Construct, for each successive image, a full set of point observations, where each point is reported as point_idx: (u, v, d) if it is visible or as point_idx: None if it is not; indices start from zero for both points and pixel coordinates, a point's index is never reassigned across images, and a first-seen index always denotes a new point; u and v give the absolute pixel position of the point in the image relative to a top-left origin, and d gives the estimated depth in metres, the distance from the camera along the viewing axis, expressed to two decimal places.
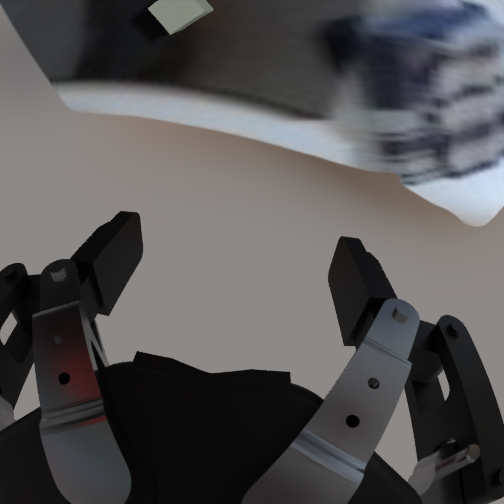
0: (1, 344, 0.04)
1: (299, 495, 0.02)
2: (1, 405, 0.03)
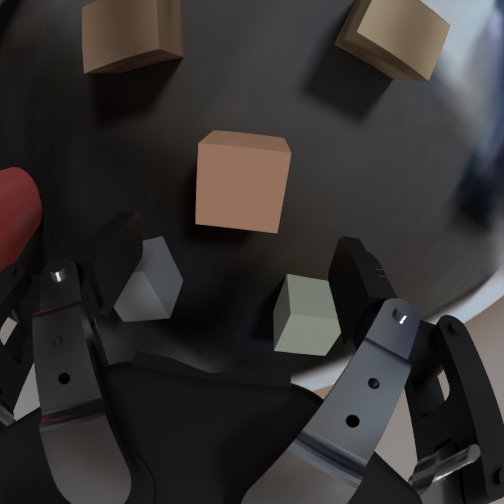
0: (1, 344, 0.04)
1: (299, 495, 0.02)
2: (1, 405, 0.03)
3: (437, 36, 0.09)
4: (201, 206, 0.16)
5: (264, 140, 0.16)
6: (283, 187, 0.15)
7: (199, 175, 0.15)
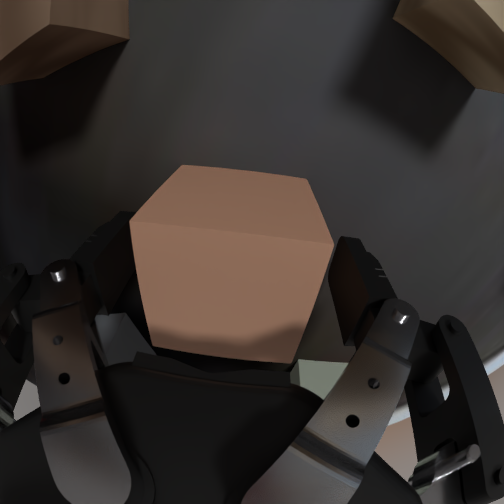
0: (1, 344, 0.04)
1: (299, 495, 0.02)
2: (1, 405, 0.03)
3: None
4: (156, 325, 0.08)
5: (272, 192, 0.09)
6: (310, 305, 0.07)
7: (142, 280, 0.07)
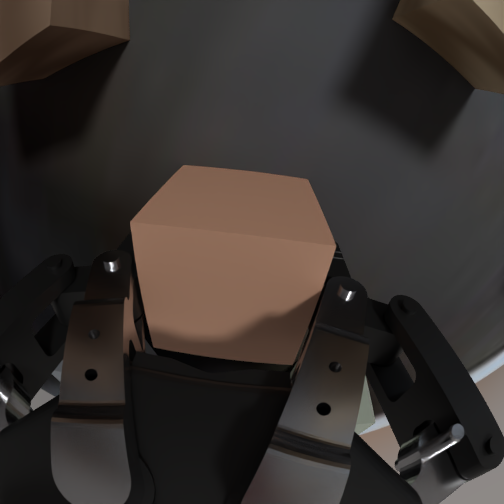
0: (31, 335, 0.05)
1: (299, 495, 0.02)
2: (18, 396, 0.04)
3: None
4: (157, 327, 0.08)
5: (274, 193, 0.09)
6: (312, 306, 0.07)
7: (143, 281, 0.07)
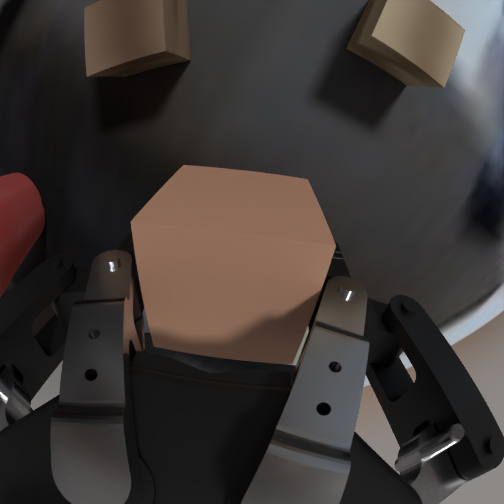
0: (31, 335, 0.05)
1: (299, 495, 0.02)
2: (18, 396, 0.04)
3: (452, 41, 0.08)
4: (158, 326, 0.08)
5: (274, 193, 0.09)
6: (311, 306, 0.07)
7: (144, 281, 0.07)
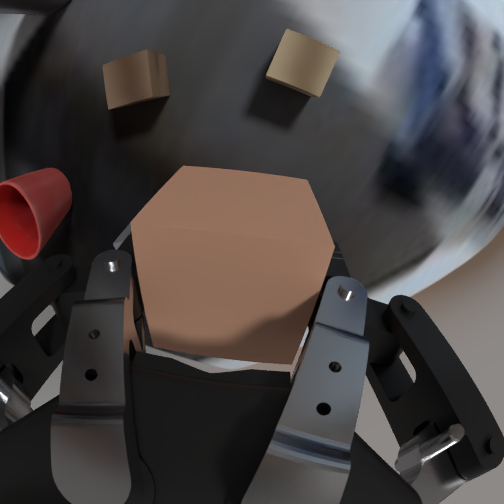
0: (31, 335, 0.05)
1: (299, 495, 0.02)
2: (18, 396, 0.04)
3: (328, 63, 0.18)
4: (157, 327, 0.08)
5: (273, 193, 0.09)
6: (310, 306, 0.07)
7: (143, 281, 0.07)
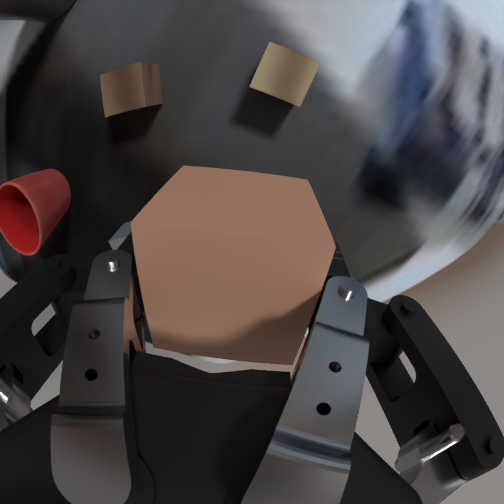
0: (31, 335, 0.05)
1: (299, 495, 0.02)
2: (18, 396, 0.04)
3: (308, 74, 0.21)
4: (157, 327, 0.08)
5: (274, 194, 0.09)
6: (311, 307, 0.07)
7: (143, 282, 0.07)
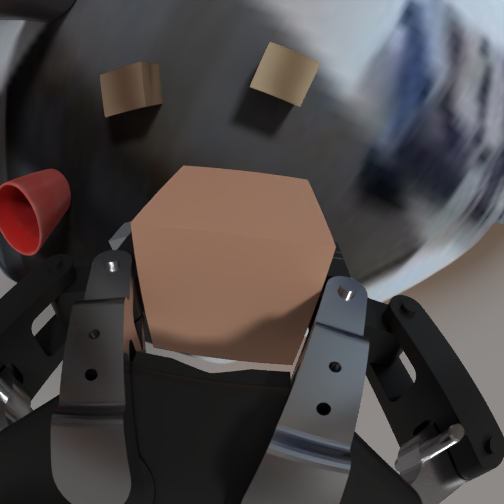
0: (31, 335, 0.05)
1: (299, 495, 0.02)
2: (18, 396, 0.04)
3: (308, 74, 0.21)
4: (157, 327, 0.08)
5: (274, 194, 0.09)
6: (311, 307, 0.07)
7: (143, 282, 0.07)
